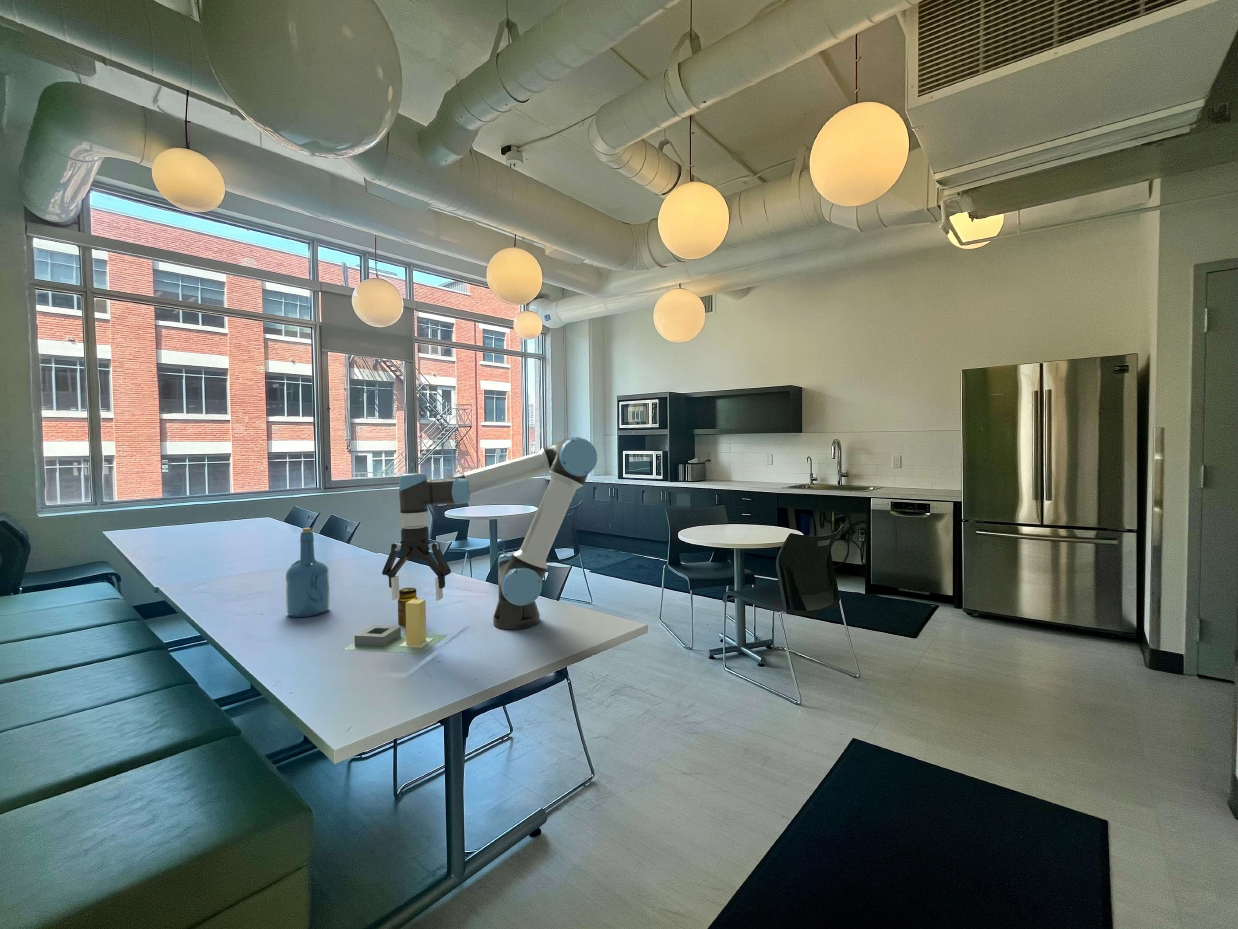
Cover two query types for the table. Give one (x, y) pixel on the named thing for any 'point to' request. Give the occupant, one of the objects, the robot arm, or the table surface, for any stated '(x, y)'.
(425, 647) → the green board with socket
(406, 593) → the condiment
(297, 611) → the wine bottle
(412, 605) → the plug
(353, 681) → the table surface
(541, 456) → the robot arm
